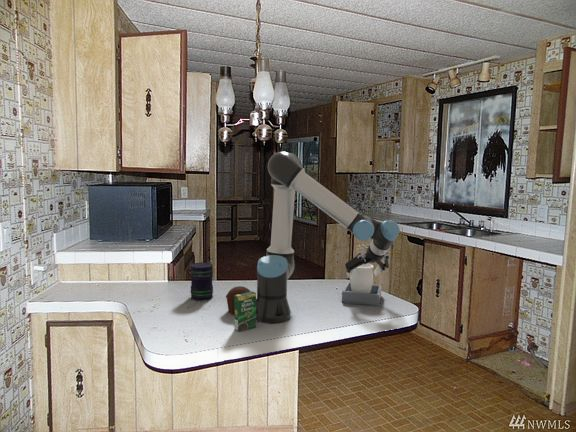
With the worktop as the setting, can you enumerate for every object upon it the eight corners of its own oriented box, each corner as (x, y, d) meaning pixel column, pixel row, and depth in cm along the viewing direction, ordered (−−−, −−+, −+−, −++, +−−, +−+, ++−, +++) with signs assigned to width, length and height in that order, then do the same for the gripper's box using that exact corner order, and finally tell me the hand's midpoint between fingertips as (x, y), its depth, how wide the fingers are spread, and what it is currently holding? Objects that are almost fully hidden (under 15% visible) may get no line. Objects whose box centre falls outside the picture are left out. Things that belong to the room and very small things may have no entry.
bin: (341, 302, 182) (342, 291, 181) (347, 292, 197) (347, 282, 197) (378, 306, 177) (379, 295, 177) (381, 295, 193) (381, 285, 192)
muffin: (223, 308, 171) (223, 284, 169) (248, 305, 175) (249, 282, 173) (229, 318, 160) (229, 293, 158) (256, 315, 164) (257, 290, 162)
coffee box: (237, 332, 146) (237, 296, 144) (233, 329, 148) (233, 294, 147) (256, 327, 151) (257, 292, 149) (252, 325, 153) (252, 290, 151)
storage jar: (200, 302, 177) (200, 268, 175) (185, 297, 183) (185, 265, 181) (217, 297, 185) (217, 264, 183) (203, 292, 191) (203, 261, 189)
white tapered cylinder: (374, 301, 183) (375, 268, 181) (350, 300, 183) (352, 267, 181) (369, 293, 193) (371, 262, 191) (347, 293, 193) (349, 262, 192)
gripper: (352, 257, 166) (337, 283, 182) (407, 255, 172) (388, 281, 188) (347, 241, 171) (333, 268, 187) (402, 241, 177) (384, 267, 193)
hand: (361, 274), depth 188 cm, fingers open, 13 cm apart
